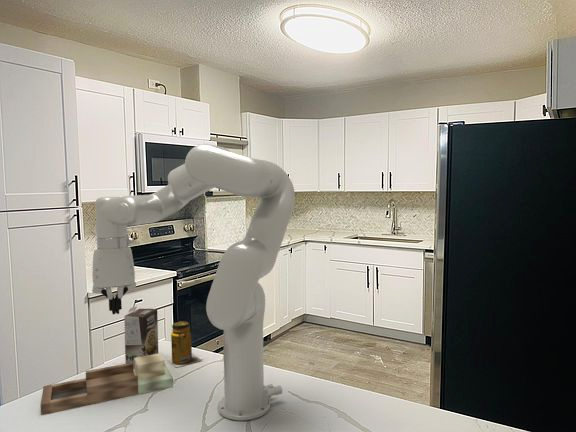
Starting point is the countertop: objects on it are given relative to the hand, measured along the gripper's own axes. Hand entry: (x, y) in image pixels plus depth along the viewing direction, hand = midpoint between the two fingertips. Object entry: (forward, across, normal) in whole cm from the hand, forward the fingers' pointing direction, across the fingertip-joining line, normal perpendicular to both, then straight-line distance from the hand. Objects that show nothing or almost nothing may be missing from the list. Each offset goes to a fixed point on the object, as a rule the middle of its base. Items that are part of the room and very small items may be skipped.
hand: (115, 312), depth 113 cm
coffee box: (+21, -8, -15) cm, 27 cm away
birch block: (+18, -8, -1) cm, 20 cm away
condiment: (+21, -20, -11) cm, 31 cm away
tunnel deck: (+21, +2, 0) cm, 21 cm away
